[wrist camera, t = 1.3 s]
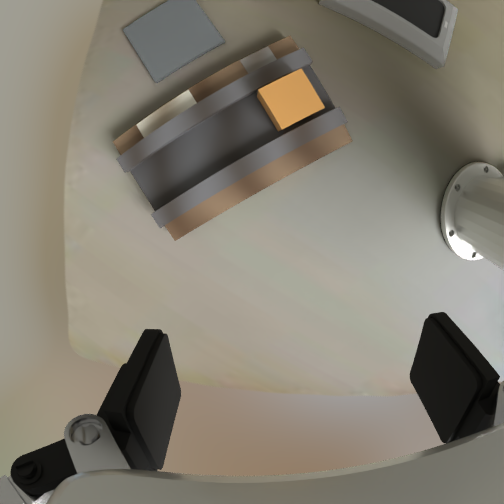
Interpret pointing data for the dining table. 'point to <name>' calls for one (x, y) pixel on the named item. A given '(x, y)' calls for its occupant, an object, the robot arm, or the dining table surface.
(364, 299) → the dining table surface
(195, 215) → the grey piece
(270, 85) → the switch tab
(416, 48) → the grey electronic device
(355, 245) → the dining table surface
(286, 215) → the dining table surface
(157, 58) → the mat
